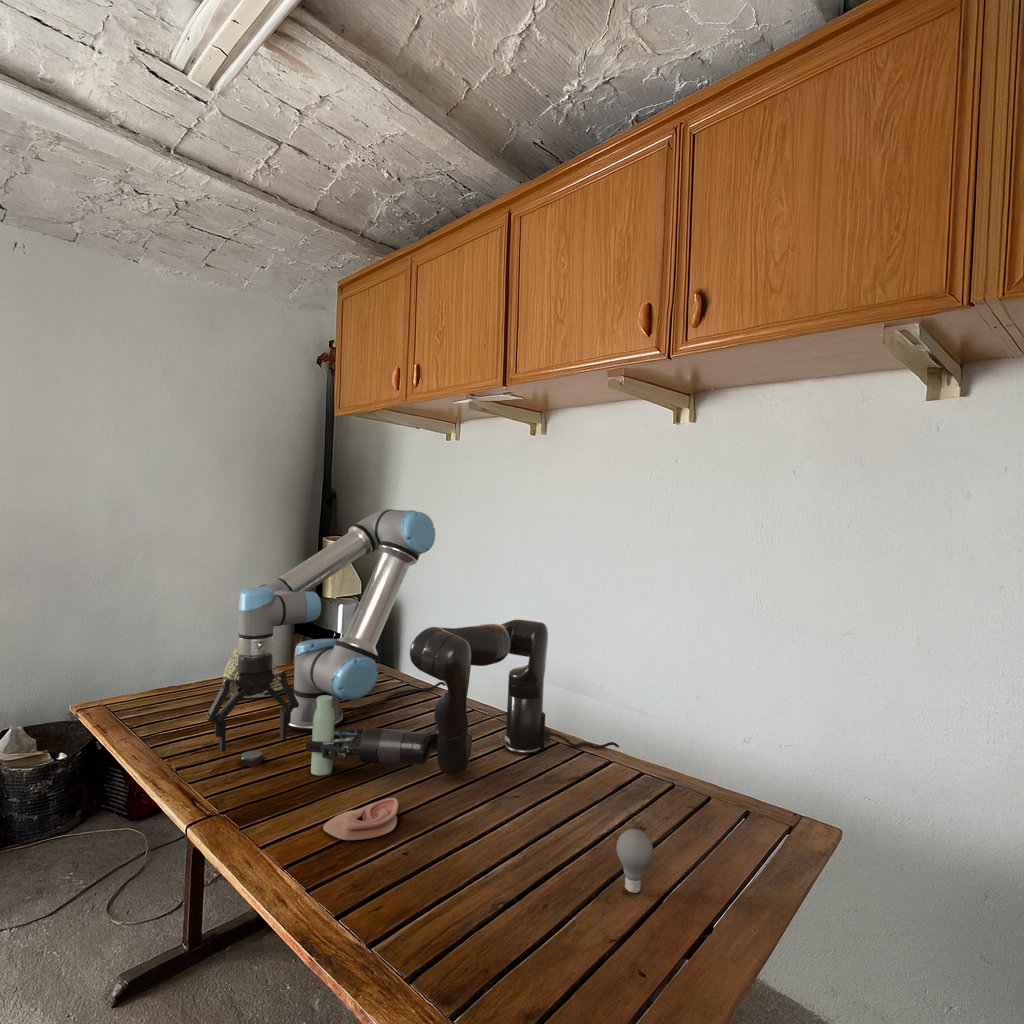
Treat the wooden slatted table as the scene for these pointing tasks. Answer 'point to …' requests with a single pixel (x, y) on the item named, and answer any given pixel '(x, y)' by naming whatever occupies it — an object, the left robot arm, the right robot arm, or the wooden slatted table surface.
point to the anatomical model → (364, 821)
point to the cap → (251, 758)
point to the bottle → (322, 734)
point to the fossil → (232, 672)
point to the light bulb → (634, 857)
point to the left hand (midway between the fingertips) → (253, 743)
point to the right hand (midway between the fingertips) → (311, 741)
